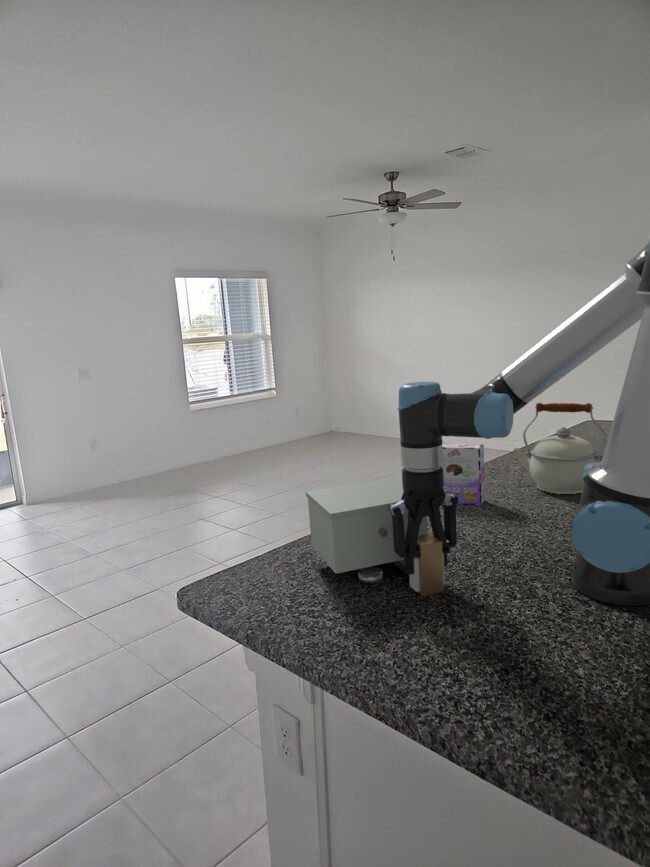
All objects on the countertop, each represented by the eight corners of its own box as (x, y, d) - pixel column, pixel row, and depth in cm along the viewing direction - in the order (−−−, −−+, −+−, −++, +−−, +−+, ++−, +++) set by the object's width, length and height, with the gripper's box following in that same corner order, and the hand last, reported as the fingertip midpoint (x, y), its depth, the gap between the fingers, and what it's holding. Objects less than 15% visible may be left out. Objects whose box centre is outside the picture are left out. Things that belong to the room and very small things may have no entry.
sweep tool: (443, 591, 104) (442, 541, 102) (422, 596, 103) (420, 545, 101) (407, 561, 118) (405, 517, 117) (388, 565, 117) (385, 520, 115)
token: (387, 580, 111) (386, 574, 111) (364, 585, 110) (363, 579, 109) (377, 570, 116) (376, 565, 116) (354, 575, 114) (354, 570, 114)
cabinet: (433, 573, 112) (430, 497, 109) (337, 595, 106) (331, 515, 103) (396, 544, 128) (392, 477, 125) (311, 561, 122) (305, 491, 119)
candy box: (486, 500, 154) (484, 443, 151) (481, 507, 149) (480, 447, 146) (437, 497, 161) (435, 441, 158) (431, 503, 156) (429, 446, 153)
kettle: (608, 482, 162) (610, 398, 158) (600, 501, 147) (602, 408, 143) (520, 476, 176) (520, 398, 171) (505, 492, 161) (504, 407, 156)
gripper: (453, 456, 107) (457, 569, 112) (369, 469, 102) (376, 587, 106) (475, 464, 100) (478, 584, 104) (386, 478, 95) (393, 604, 99)
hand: (427, 585), depth 105 cm, fingers closed on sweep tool, 4 cm apart
